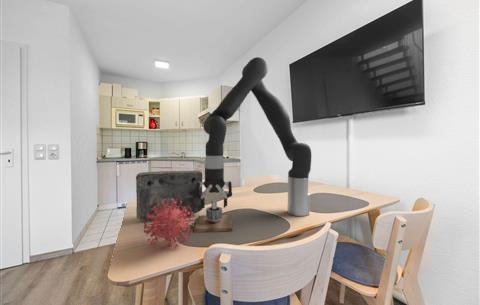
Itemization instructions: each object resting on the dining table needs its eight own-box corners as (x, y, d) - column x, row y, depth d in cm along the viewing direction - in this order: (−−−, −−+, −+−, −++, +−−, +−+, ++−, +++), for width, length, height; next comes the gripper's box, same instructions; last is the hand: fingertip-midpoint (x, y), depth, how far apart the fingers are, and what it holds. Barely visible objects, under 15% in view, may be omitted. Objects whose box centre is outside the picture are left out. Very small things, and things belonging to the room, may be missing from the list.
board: (230, 217, 89) (230, 214, 89) (232, 231, 75) (232, 227, 75) (198, 218, 87) (198, 215, 87) (194, 232, 73) (194, 228, 73)
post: (220, 218, 84) (220, 199, 83) (219, 223, 79) (220, 202, 79) (208, 219, 83) (208, 199, 83) (207, 223, 78) (207, 202, 78)
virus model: (147, 265, 53) (147, 209, 52) (141, 242, 65) (141, 196, 65) (201, 250, 61) (201, 201, 60) (186, 232, 73) (186, 191, 73)
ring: (221, 214, 84) (221, 206, 84) (221, 219, 78) (221, 211, 78) (206, 214, 84) (207, 206, 84) (205, 219, 78) (205, 211, 77)
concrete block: (200, 211, 97) (200, 169, 96) (203, 217, 89) (203, 172, 88) (138, 217, 88) (138, 171, 87) (135, 225, 79) (135, 174, 79)
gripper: (231, 166, 85) (231, 204, 85) (197, 166, 83) (197, 204, 84) (232, 168, 77) (232, 210, 78) (194, 168, 76) (194, 210, 76)
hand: (214, 207), depth 81 cm, fingers open, 8 cm apart
